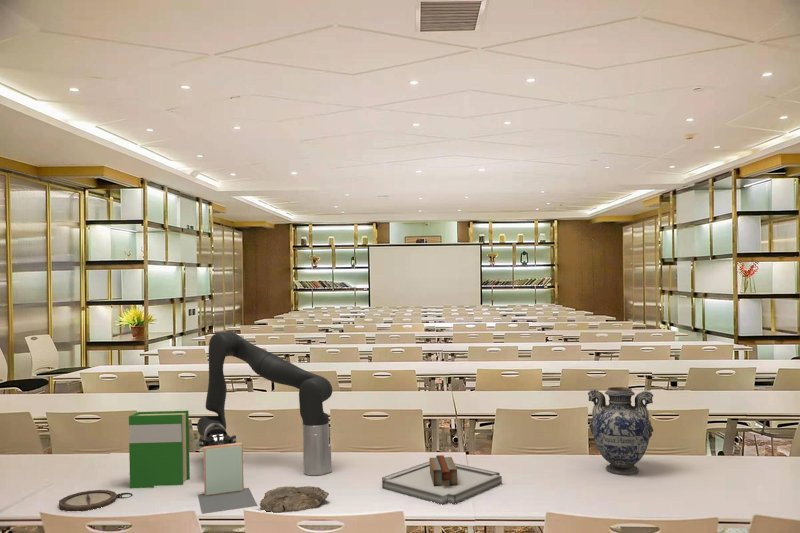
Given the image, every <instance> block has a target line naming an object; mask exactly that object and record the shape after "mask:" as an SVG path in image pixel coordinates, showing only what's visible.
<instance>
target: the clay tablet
mask: <svg viewBox="0 0 800 533" xmlns="http://www.w3.org/2000/svg"><path fill="white" fill-rule="evenodd" d="M329 495H330V494H329V492H328V491H325V490H324V489H322V488H321V487H320V486H310V485H306V486H297V487H296V486H293V485H292V486H279V487H276V488H274V489H273V488H272V489H270V490H267V491H265V493H264V496H263V498H262V499H261V500H260V503H259V506H260V510H265V511H272V512H271V513H274V512H275V513H283V512H284V511H286V512H300V511H305V510H309V509H310V508H311V509H315V508H317V507H318V506H320V505H321V504H322V502H323V501H324V500H326V499H327V498H328V497H329ZM311 509H310V510H311Z"/></svg>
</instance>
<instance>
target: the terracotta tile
mask: <svg viewBox="0 0 800 533" xmlns="http://www.w3.org/2000/svg"><path fill="white" fill-rule="evenodd" d="M243 447H244V445H243V442H236V443H232V444H223V445H214V446H205V447H202V449H203V490H204V493H203V494H204V495H205V496H211V495H218V494H225V493H233V492H240V491H244V488H245V487H244V485H245V484H244V448H243Z"/></svg>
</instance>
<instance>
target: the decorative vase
mask: <svg viewBox="0 0 800 533" xmlns="http://www.w3.org/2000/svg"><path fill="white" fill-rule="evenodd" d="M587 395H588V399H587V400H588V402H592V403H593V404H594V405H593V408H592V411H591V414H592V417H591V421H590V422H589V425H588V427H589V429H590V433H591V435H593V440H594V442H595V445H596V447H597V450H598V452H599V453H600V455H601V456H602V458H603V459H604V460H606V462H608V463H609V464H607V465H606V466H605V467H606V468H605V470H606V471H607V472H609V473H611V474H613V475H614V474H615V475H625V476H631V475H637V474H638V473H640V470H639V468H638V467H637V466H636V464H637V463H638V462H640V461H641V459H642V458H643V457H644V455H645V453H646V451H647V449H648V446H649V443H650V438H651V437H652V436H653V433H654V429H653V426H652V422H651V420H649V419H650V414H649V413H650V412H649V410H648V408H647V407H648V405H649V404H653V403H654V401H653V397H654V394H653V393H652V391H649V390H643V391H640V392H639V393H637V394H636V393H635V392H634V391H633V390H632V388H630V387H624V386H623V387H621V386H619V387H618V386H613V387H608V388H607V390H606V391H604V394H603V392H601V391H599V390H598V389H592V390H591V389H589V392H588V393H587ZM605 395H607V396H608V403H609V404H607V402H606V396H605ZM633 396H635V397H634V405H632V402H633V401H632V397H633ZM643 401H644V402H643Z"/></svg>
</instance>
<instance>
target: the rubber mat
mask: <svg viewBox="0 0 800 533" xmlns="http://www.w3.org/2000/svg"><path fill="white" fill-rule="evenodd" d="M197 497H198V501H199V507H200V512H201V514H202V515H204V514H210V513H211V514H212V513H217V512H225V511H232V510H238V509H245V508H246V509H247V508H253V507H258V504H257V502H256V499H255V497H254V496H253V493H252V491H251V489H250V488H249V487H244V491H240V492H233V493H225V494H218V495H211V496H205V495H204V493H201V494H200V493H199V494H197Z"/></svg>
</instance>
